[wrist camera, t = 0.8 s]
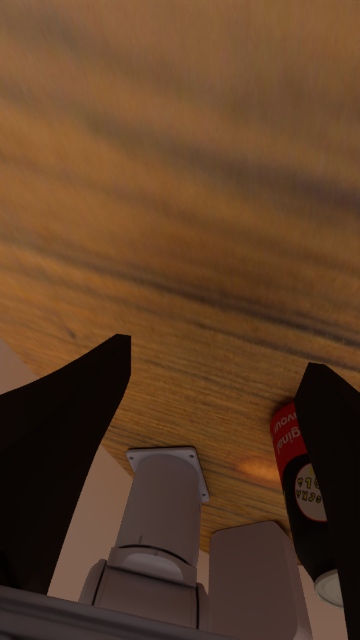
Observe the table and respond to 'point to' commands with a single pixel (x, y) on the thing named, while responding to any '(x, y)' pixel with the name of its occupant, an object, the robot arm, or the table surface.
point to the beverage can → (305, 506)
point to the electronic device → (256, 585)
